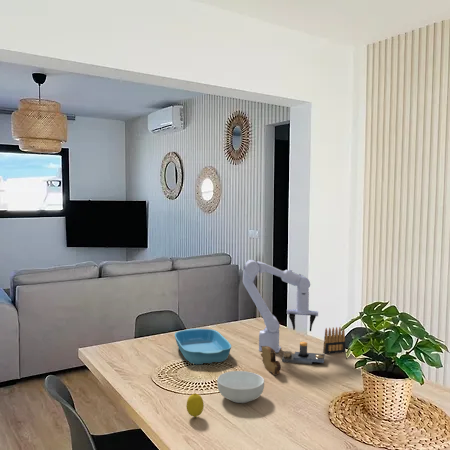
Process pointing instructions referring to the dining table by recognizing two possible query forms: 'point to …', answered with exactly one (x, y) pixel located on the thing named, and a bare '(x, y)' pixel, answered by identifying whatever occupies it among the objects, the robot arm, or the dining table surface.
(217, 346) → the casserole dish
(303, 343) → the pin
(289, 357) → the chain end left
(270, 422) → the dining table surface
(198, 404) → the lemon
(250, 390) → the cereal bowl
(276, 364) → the wooden carving
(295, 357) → the chain end right
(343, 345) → the ammunition clip
